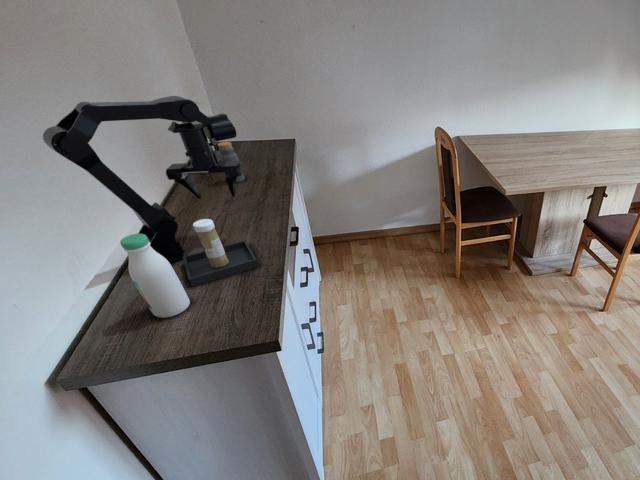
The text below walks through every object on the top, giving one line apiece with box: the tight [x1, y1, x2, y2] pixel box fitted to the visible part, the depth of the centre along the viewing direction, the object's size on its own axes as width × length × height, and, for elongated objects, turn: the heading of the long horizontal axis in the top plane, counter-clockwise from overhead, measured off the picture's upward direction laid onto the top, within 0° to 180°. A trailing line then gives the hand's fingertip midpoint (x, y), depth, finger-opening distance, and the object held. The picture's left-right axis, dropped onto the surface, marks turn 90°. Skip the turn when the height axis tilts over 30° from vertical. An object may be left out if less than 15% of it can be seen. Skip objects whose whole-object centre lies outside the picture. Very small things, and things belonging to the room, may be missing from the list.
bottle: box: [217, 141, 246, 183], centre depth 154 cm, size 6×6×15 cm
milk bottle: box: [119, 233, 191, 319], centre depth 89 cm, size 8×8×20 cm
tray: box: [182, 239, 259, 287], centre depth 109 cm, size 16×13×2 cm
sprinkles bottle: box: [192, 218, 229, 268], centre depth 105 cm, size 5×5×13 cm
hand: (217, 197), depth 116 cm, fingers open, 9 cm apart
